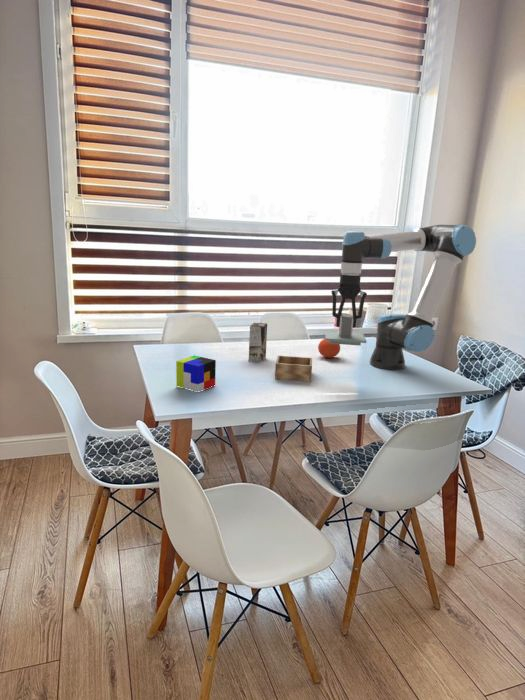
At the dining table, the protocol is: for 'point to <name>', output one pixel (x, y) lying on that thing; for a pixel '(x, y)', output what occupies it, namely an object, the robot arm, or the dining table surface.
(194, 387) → the puzzle toy
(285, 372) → the crate
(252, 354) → the coffee box
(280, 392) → the dining table surface
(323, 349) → the orange fruit
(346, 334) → the lid
